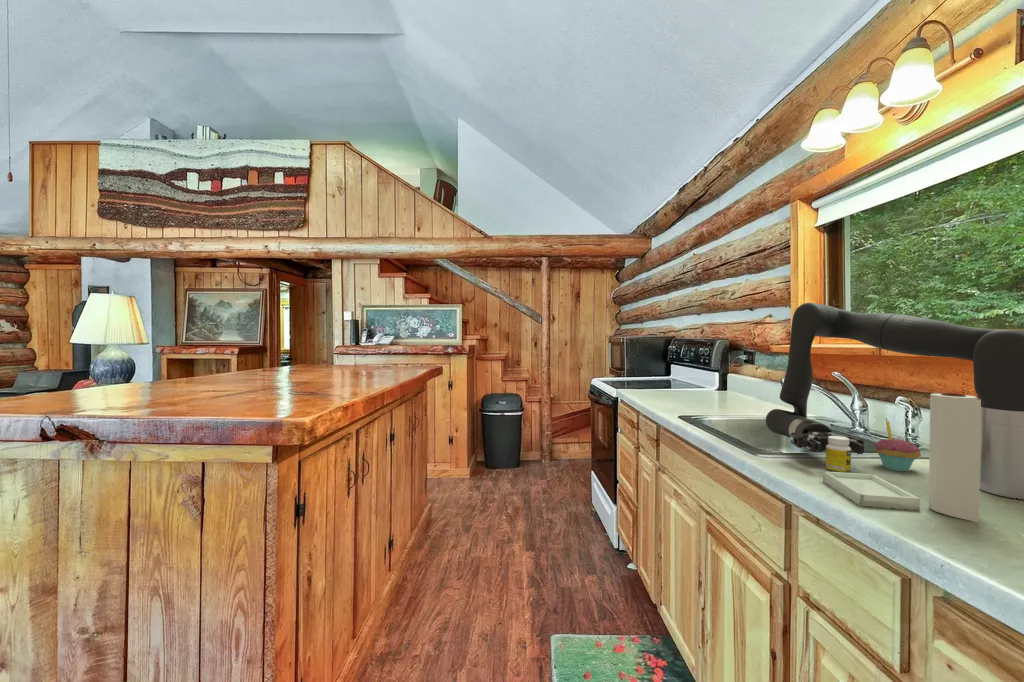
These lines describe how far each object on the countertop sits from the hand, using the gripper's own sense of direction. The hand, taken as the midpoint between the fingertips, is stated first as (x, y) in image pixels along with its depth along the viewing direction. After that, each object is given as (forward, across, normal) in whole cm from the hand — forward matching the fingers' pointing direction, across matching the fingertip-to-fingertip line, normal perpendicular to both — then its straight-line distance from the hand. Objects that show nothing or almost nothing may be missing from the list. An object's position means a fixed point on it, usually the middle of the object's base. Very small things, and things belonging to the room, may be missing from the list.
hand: (840, 448), depth 104 cm
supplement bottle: (-1, 0, +6) cm, 6 cm away
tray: (+14, -1, +6) cm, 15 cm away
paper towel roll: (+21, +8, +6) cm, 24 cm away
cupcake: (-9, +16, +6) cm, 19 cm away
